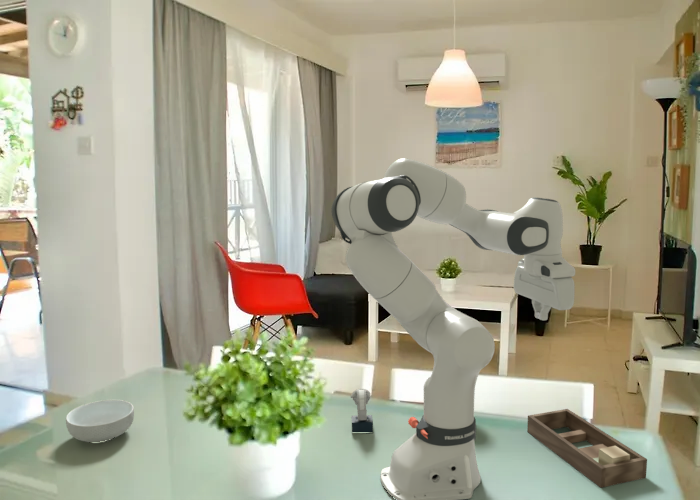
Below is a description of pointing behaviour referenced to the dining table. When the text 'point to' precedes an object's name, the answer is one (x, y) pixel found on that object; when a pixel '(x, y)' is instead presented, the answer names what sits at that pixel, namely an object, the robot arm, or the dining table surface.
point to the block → (612, 455)
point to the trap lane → (587, 456)
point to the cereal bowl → (100, 420)
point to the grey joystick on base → (361, 412)
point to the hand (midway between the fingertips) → (541, 318)
